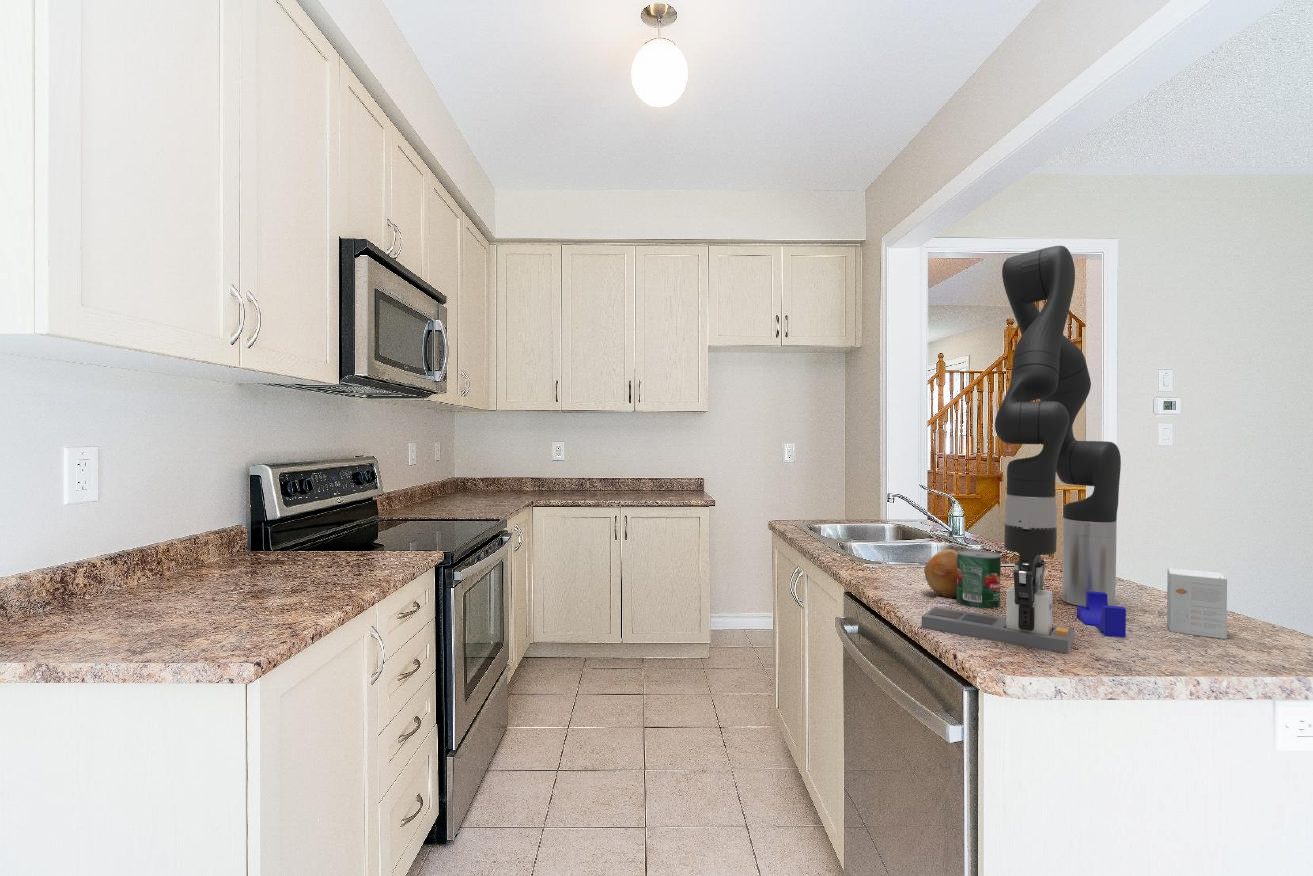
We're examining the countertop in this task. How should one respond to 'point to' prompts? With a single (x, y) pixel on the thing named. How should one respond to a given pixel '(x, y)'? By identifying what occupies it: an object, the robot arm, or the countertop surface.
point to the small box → (1197, 603)
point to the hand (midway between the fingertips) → (1029, 625)
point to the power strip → (995, 629)
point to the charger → (1041, 612)
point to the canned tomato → (978, 578)
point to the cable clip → (1103, 615)
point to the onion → (943, 573)
